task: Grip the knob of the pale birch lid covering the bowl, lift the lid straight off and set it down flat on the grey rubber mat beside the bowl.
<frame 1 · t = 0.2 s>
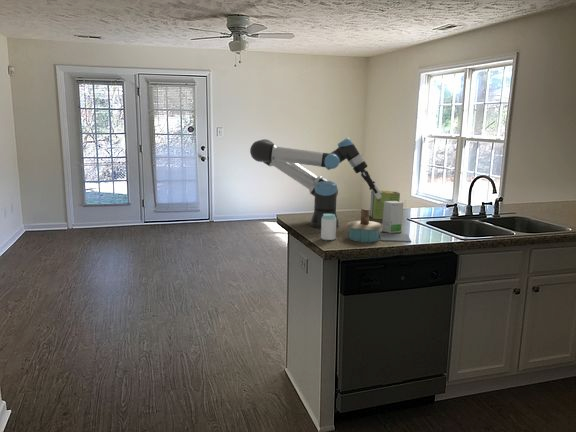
hand: (379, 196, 263), 15 cm above the table, tool tilted 35°, fingers open, 13 cm apart
skincare box: (391, 231, 247), on the table
can: (328, 239, 227), on the table
protein box: (383, 217, 284), on the table
bowl: (363, 238, 230), on the table
mat: (394, 238, 232), on the table
lid: (364, 226, 229), point 6 cm above the table, touching bowl
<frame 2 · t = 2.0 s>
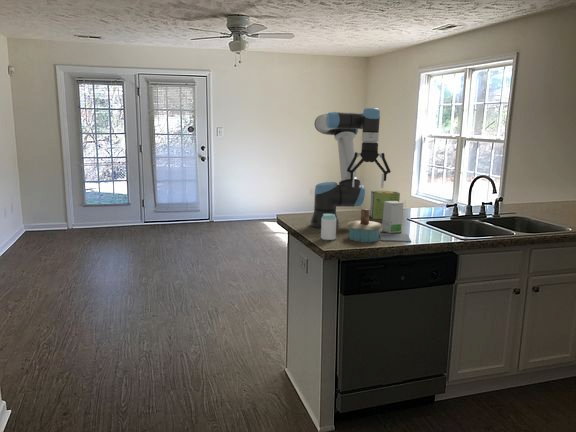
hand: (367, 187, 226), 25 cm above the table, tool pointing down, fingers open, 13 cm apart
nothing on the table moved.
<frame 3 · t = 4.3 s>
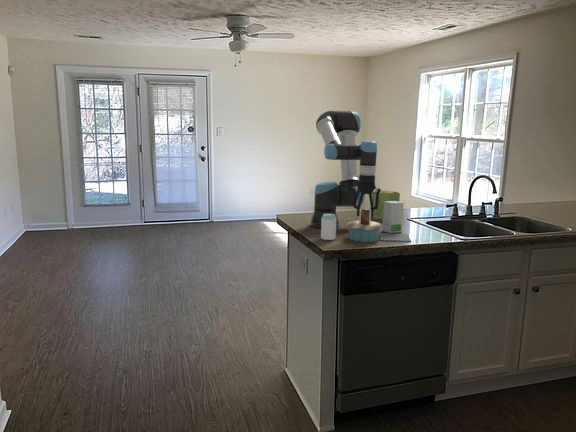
hand: (364, 223, 228), 8 cm above the table, tool pointing down, fingers closed on lid, 4 cm apart
lid: (364, 226, 229), point 6 cm above the table, touching bowl, gripper
everything else where it was.
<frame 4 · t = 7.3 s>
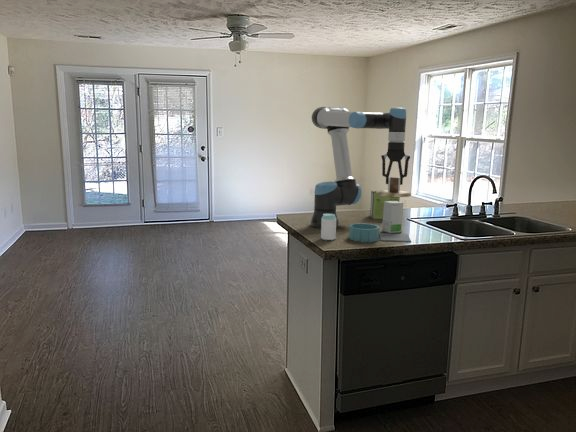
hand: (393, 191, 227), 23 cm above the table, tool pointing down, fingers closed on lid, 4 cm apart
lid: (393, 194, 227), point 21 cm above the table, touching gripper
everything else where it was.
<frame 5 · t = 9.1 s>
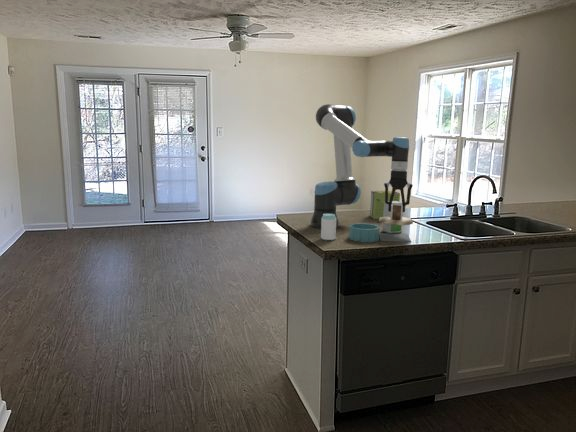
hand: (396, 218, 230), 10 cm above the table, tool pointing down, fingers closed on lid, 4 cm apart
lid: (395, 221, 230), point 8 cm above the table, touching gripper
everything else where it was.
when the fingers open (4 cm above the table, at t = 10.6 s): lid drops 2 cm, resting on mat.
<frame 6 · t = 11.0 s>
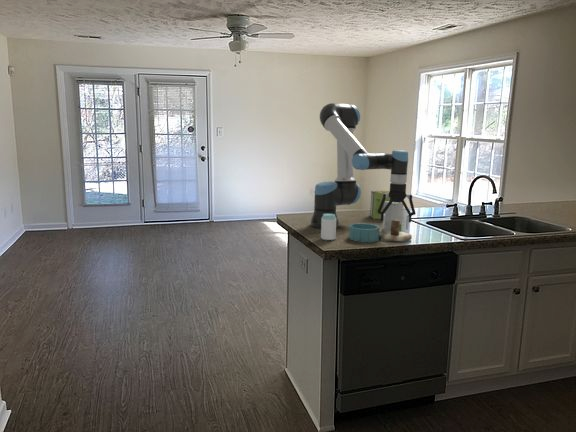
hand: (395, 228, 231), 5 cm above the table, tool pointing down, fingers open, 10 cm apart
lid: (394, 236, 232), point 1 cm above the table, touching mat
everything else where it was.
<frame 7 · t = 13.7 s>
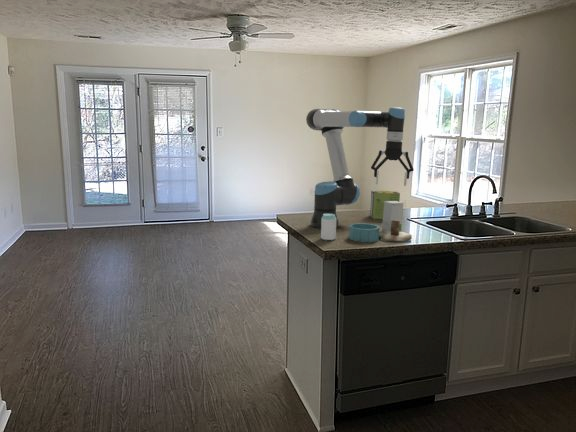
hand: (390, 184, 233), 25 cm above the table, tool pointing down, fingers open, 13 cm apart
nothing on the table moved.
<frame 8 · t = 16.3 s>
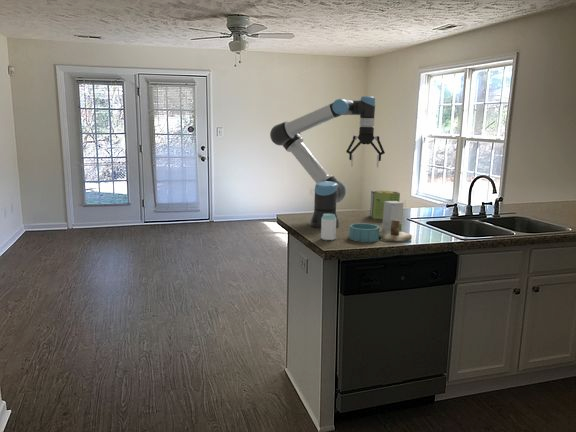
hand: (364, 166, 256), 32 cm above the table, tool pointing down, fingers open, 13 cm apart
nothing on the table moved.
at the end: lid inside the target area on the mat (0.1 cm from its centre), point 0.6 cm above the mat's base; lid tilted 0°; the gripper is holding nothing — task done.
